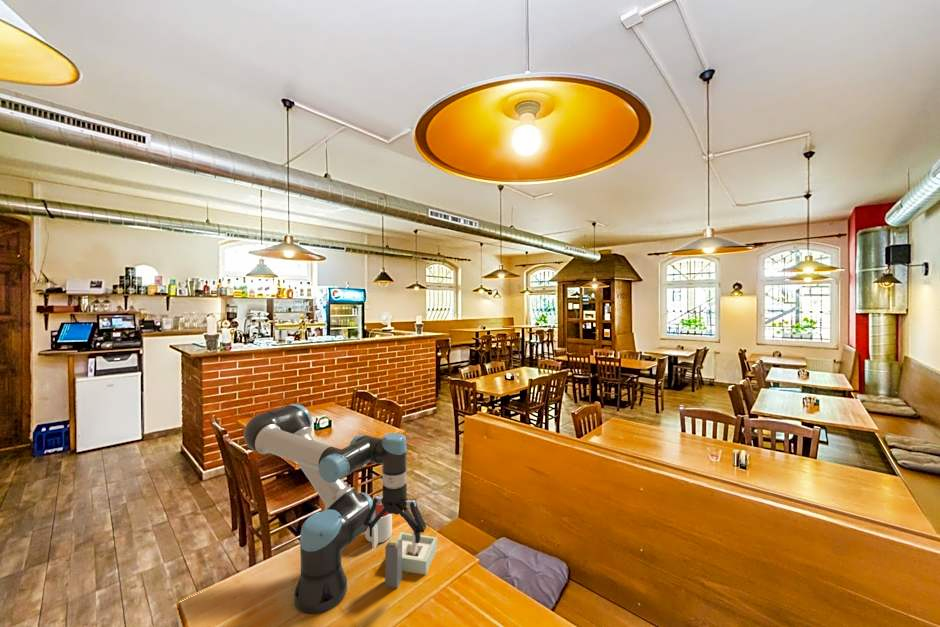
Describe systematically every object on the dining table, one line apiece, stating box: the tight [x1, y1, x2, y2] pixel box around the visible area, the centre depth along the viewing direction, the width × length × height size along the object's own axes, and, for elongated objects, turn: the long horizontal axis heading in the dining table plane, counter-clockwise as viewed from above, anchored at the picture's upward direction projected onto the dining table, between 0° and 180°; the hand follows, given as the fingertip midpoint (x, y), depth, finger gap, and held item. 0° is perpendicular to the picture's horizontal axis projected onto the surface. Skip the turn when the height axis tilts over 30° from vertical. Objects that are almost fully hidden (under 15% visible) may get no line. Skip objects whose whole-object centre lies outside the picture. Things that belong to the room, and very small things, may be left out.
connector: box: [384, 537, 403, 589], centre depth 121 cm, size 4×4×14 cm
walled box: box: [397, 531, 438, 576], centre depth 133 cm, size 14×13×4 cm
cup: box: [364, 503, 393, 544], centre depth 145 cm, size 10×10×10 cm
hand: (394, 549), depth 121 cm, fingers open, 13 cm apart
